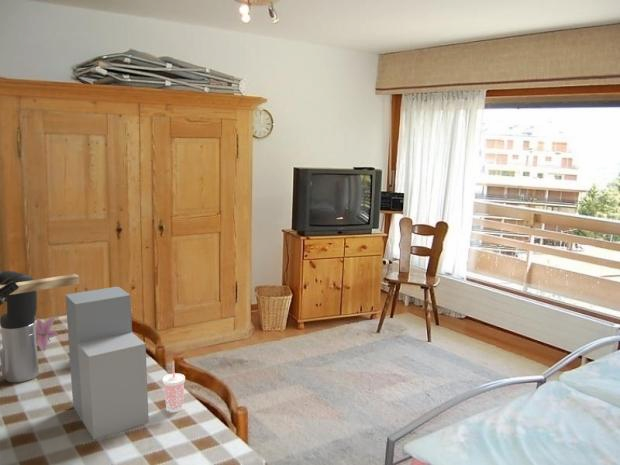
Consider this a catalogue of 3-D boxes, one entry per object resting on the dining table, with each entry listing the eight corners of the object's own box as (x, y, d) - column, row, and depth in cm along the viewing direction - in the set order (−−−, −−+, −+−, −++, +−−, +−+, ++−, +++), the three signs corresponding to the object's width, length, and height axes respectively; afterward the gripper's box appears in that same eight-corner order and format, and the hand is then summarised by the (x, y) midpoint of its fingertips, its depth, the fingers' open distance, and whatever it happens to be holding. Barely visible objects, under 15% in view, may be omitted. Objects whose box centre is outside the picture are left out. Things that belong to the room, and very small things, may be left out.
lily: (22, 346, 191) (13, 328, 185) (51, 326, 199) (44, 308, 193) (41, 363, 186) (33, 346, 180) (71, 341, 193) (64, 324, 187)
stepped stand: (93, 439, 132) (86, 315, 126) (73, 406, 148) (65, 294, 142) (148, 422, 140) (143, 304, 135) (123, 392, 156) (118, 286, 150)
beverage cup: (166, 415, 144) (164, 367, 141) (161, 405, 149) (159, 358, 147) (188, 410, 147) (187, 363, 144) (182, 400, 152) (181, 355, 149)
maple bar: (-10, 297, 124) (-11, 289, 124) (-12, 294, 127) (-13, 286, 126) (79, 283, 137) (79, 276, 136) (76, 281, 139) (75, 273, 139)
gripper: (-48, 332, 128) (18, 287, 136) (-41, 350, 117) (30, 300, 125) (-70, 309, 125) (-1, 264, 132) (-65, 326, 114) (10, 276, 121)
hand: (14, 282), depth 128 cm, fingers closed on maple bar, 3 cm apart
